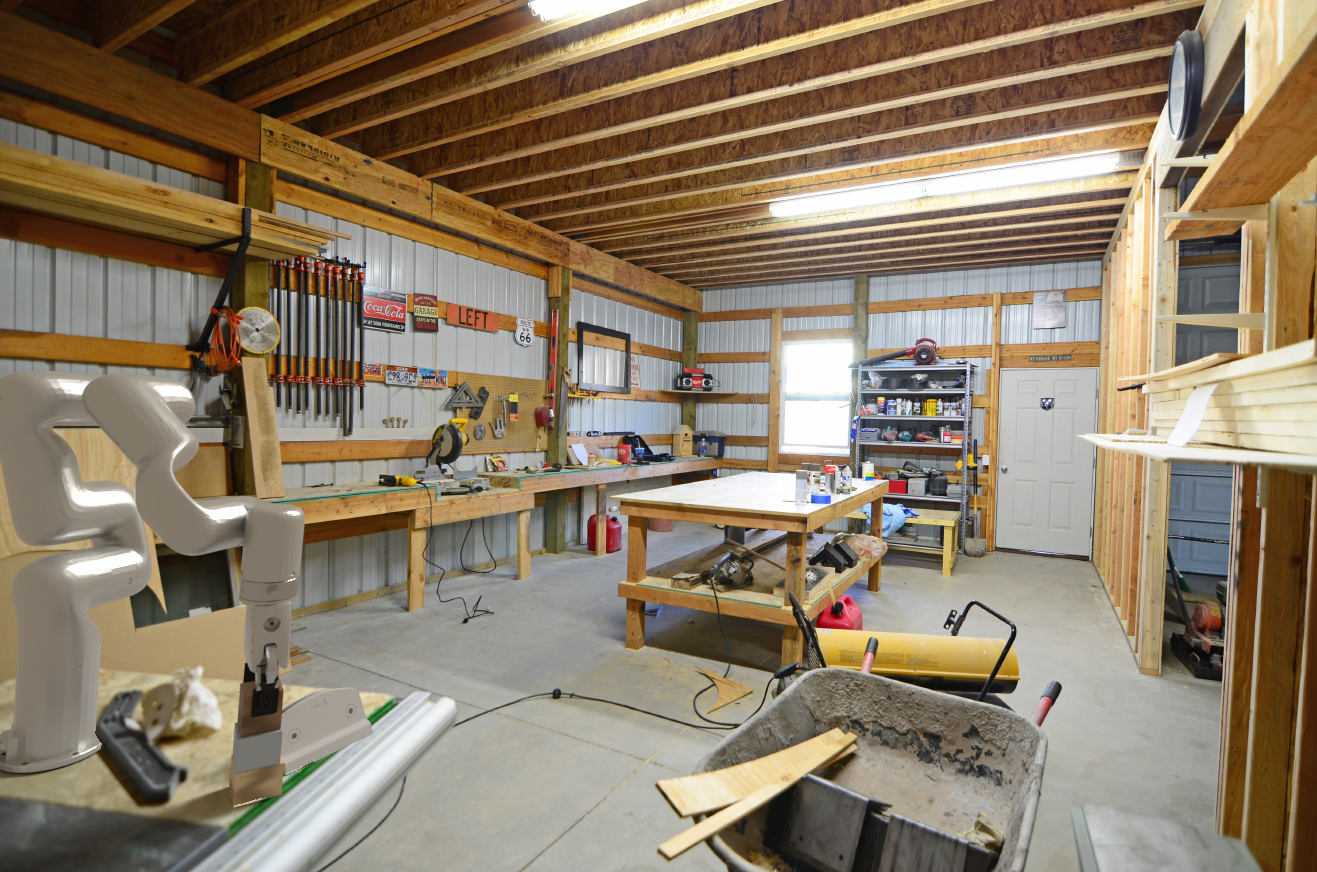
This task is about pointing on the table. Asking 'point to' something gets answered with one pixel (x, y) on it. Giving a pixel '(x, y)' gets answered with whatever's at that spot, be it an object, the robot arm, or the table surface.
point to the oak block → (256, 783)
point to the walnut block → (261, 723)
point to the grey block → (256, 750)
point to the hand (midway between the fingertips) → (259, 700)
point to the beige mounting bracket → (321, 726)
